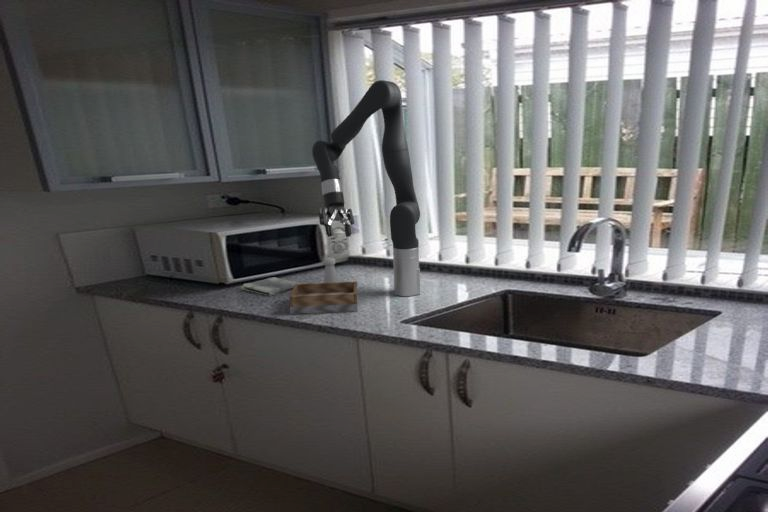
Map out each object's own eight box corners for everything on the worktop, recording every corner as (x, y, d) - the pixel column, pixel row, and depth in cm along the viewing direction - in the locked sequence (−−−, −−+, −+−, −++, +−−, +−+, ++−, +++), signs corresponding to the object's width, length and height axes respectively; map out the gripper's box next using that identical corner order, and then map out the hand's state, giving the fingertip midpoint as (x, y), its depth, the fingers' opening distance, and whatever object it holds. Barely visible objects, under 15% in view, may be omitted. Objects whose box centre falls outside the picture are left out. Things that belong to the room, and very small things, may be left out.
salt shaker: (336, 294, 193) (334, 260, 190) (321, 293, 194) (319, 259, 191) (340, 290, 198) (339, 256, 196) (326, 289, 200) (324, 256, 197)
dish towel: (304, 287, 207) (304, 279, 206) (269, 298, 193) (269, 289, 192) (273, 280, 218) (272, 273, 217) (238, 291, 204) (237, 283, 203)
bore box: (357, 297, 188) (357, 281, 187) (357, 311, 172) (356, 293, 171) (296, 300, 187) (295, 284, 186) (290, 314, 171) (289, 296, 170)
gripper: (323, 189, 185) (330, 233, 182) (353, 191, 195) (360, 233, 192) (311, 195, 190) (317, 238, 188) (341, 197, 200) (348, 238, 198)
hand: (339, 236), depth 190 cm, fingers open, 8 cm apart
